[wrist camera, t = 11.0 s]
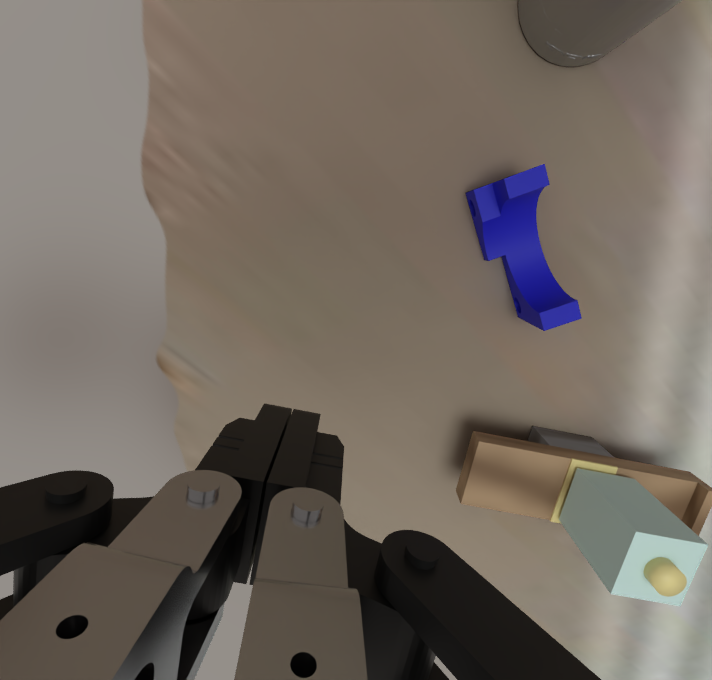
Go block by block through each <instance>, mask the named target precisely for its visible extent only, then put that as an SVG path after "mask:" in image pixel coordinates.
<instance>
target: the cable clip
mask: <svg viewBox="0 0 712 680" xmlns="http://www.w3.org/2000/svg"><path fill="white" fill-rule="evenodd" d="M547 185H549V180H548V176H547V172H546V168H545V164H543V165H540V166H537V167H535V168H532V169H529V170H527V171H524V172H521V173H518V174H516V175H513V176H510V177H507V178H505V179H502V180H499V181H497V182H494V183H491V184H488V185H486V186H483V187H480V188H477V189H475V190H472V191H469V192H467V193H466V197H467V200H468V204H469V208H470V211H471V215H472V218H473V222H474V225H475V229H476V232H477V236H478V239H479V243H480V246H481V250H482V253H483V257H484V260H487V261H490V260H492V259H495V258H498V257H502V260H503V264H504V268H505V271H506V275H507V279H508V282H509V286H510V290H511V293H512V297H513V300H514V304H515V308H516V311H517V315H518V317H519V318H521V319H523V320H525V321H526V322H528V323H530V324H532V325H534V326H536V327H538V328H539V329H541V330H543V331H545V330H548V329H551V328H554V327H557V326H560V325H563V324H566V323H569V322H572V321H575V320H578V319H581V314H580V310H579V305H578V301H577V300H575V299H573V298H571V297H570V296H569V295H568V294H566V293H565V292H564V291H563V289H562V288H561V287H560V286H559V284H558V283H557V282H556V280H555V278H554V277H553V275H552V273H551V271H550V269H549V267H548V265H547V263H546V260H545V258H544V255H543V252H542V249H541V245H540V241H539V237H538V231H537V223H536V207H537V201H538V197H539V195H540V193H541V191H542V189H543V188H544V187H546V186H547Z"/></svg>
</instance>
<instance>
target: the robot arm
mask: <svg viewBox="0 0 712 680" xmlns="http://www.w3.org/2000/svg"><path fill="white" fill-rule="evenodd" d="M681 1H682V0H519V3H518V11H519V20H520V24H521V27H522V30H523V34H524V36H525V37H526V39H527V41H528V43H529V44H530V46H531V47H532V48H533V49H534V50H535V51H536V53H537V54H538V55H540V56H541V57H543V58H544V59H546V60H547V61H549V62H551V63H554V64H557V65H560V66H569V67H574V66H582V65H586V64H589V63H591V62H594V61H597V60H598V59H600V58H601V57H603V56H605V55H606V54H608V53H609V52H611V51H612V50H613V49H615V48H616V47H618V46H619V45H620V44H622V43H623V42H625V41H626V40H627V39H629V38H630V37H632V36H633V35H635V34H636V33H638V32H639V31H640V30H642V29H643V28H645V27H646V26H647V25H649V24H650V23H651V22H653V21H654V20H656V19H657V18H658V17H660V16H661V15H663V14H664V13H665V12H667V11H668V10H670V9H671V8H672V7H674V6H675V5H677V4H678V3H679V2H681ZM291 412H292V409H291V408H285V407H280V406H275V405H269V404H264V405H263V407H262V408H261V410H260V412H259V414H258V416H257V418H256V419H255V420H249V419H244V418H238V419H237V420H235V421H233V422H231V423H229V424H227V425H226V426H225V427H224V428H223V430H222V431H221V433H220V434H219V437H217V439H216V440H215V442H214V443H213V446H211V447H210V449H209V450H208V452H207V453H206V455H205V456H204V458H203V459H202V461H201V462H200V464H199V465H198V466H197V468H196V469H195V471H189V472H185V473H182V474H179V475H177V476H175V477H174V478H172V479H170V480H169V481H168V482H167V483H166V484H165V486H164V487H163V488H162V489H161V490H160V491H159V492H158V493H157V494H156V495H155V496H154V497H147V498H123V499H122V498H120V499H113V491H114V487H113V484H112V482H111V481H110V480H109V479H108V478H106V477H104V476H103V475H101V474H98V473H94V472H89V471H64V472H58V473H54V474H49V475H46V476H42V477H38V478H34V479H31V480H27V481H23V482H20V483H16V484H12V485H8V486H5V487H1V488H0V576H1V575H3V574H6V573H8V572H11V571H13V570H14V591H13V594H12V595H10V596H8V597H5V598H3V599H1V600H0V680H194V679H195V676H196V674H197V672H198V670H199V667H200V665H201V663H202V661H203V658H204V656H205V654H206V652H207V650H208V647H209V645H210V643H211V641H212V638H213V636H214V634H215V632H216V630H217V627H218V625H219V623H220V621H221V618H222V615H223V609H224V603H225V601H226V599H227V598H228V596H229V593H230V590H231V587H232V584H233V582H237V583H243V584H246V583H247V579H248V577H249V574H250V570H251V567H252V564H253V567H252V573H251V580H250V585H253V588H252V593H251V598H250V604H249V608H248V614H247V618H246V623H245V629H244V634H243V639H242V644H241V649H240V654H239V659H238V664H237V669H236V674H235V679H234V680H449V679H448V678H447V676H446V675H445V674H444V673H443V672H442V671H441V670H440V668H439V667H438V666H437V665H436V664H435V663H434V659H435V656H437V657H438V658H439V659H440V660H441V662H442V663H443V664H444V665H445V666H446V667H447V668H448V670H449V671H450V672H451V673H452V674H453V675H454V676H455V677H456V679H457V680H601V679H600V678H599V677H598V676H596V675H595V674H594V673H593V672H592V671H591V670H589V669H588V668H587V667H586V666H585V665H584V664H583V663H581V662H580V661H579V660H578V659H577V658H576V657H574V656H573V655H572V654H571V653H570V652H569V651H568V650H566V649H565V648H564V647H563V646H562V645H561V644H559V643H558V642H557V641H556V640H555V639H554V638H553V637H551V636H550V635H549V634H548V633H547V632H546V631H544V630H543V629H542V628H541V627H540V626H539V625H538V624H536V623H535V622H534V621H533V620H532V619H531V618H529V617H528V616H527V615H526V614H525V613H524V612H523V611H521V610H520V609H519V608H518V607H517V606H516V605H514V604H513V603H512V602H511V601H510V600H509V599H508V598H506V597H505V596H504V595H503V594H502V593H501V592H499V591H498V590H497V589H496V588H495V587H494V586H493V585H491V584H490V583H489V582H488V581H487V580H486V579H484V578H483V577H482V576H481V575H480V574H479V573H478V572H476V571H475V570H474V569H473V568H472V567H471V566H469V565H468V564H467V563H466V562H465V561H464V560H463V559H461V558H460V557H459V556H458V555H457V554H456V553H454V552H453V551H452V550H451V549H450V548H449V547H448V546H446V545H445V544H444V543H443V542H441V541H440V540H438V539H436V538H435V537H432V536H430V535H428V534H425V533H422V532H419V531H413V530H400V531H396V532H393V533H391V534H389V535H388V536H387V537H386V538H385V539H384V540H383V543H382V544H381V543H379V542H377V541H374V540H372V539H370V538H367V537H365V536H363V535H361V534H360V533H358V532H357V531H355V530H354V529H353V528H352V527H350V526H349V525H348V523H347V522H346V521H345V520H344V514H343V510H342V507H341V506H340V500H341V485H342V468H343V455H344V446H343V444H342V443H341V441H340V440H339V438H338V437H337V436H335V435H330V434H325V433H319V432H317V430H318V425H319V420H320V414H318V413H312V412H307V411H302V410H296V409H294V410H293V412H292V415H291Z"/></svg>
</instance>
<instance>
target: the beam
mask: <svg viewBox="0 0 712 680" xmlns="http://www.w3.org/2000/svg"><path fill="white" fill-rule="evenodd" d="M577 468H580V469H585V470H590V471H596V472H601V473H606V474H612V475H617V476H622V477H628V478H633V479H635V480H636V481H637V482H639V483H640V484H641V485H642V486H643V487H644V488H645V489H646V490H648V491H649V492H650V493H651V494H652V495H653V496H654V497H655V498H656V499H658V500H659V501H660V502H661V503H662V504H663V505H664V506H665V507H667V508H668V509H669V510H670V511H671V512H672V513H673V514H674V515H675V516H677V517H678V518H679V519H680V520H681V521H682V522H683V523H684V524H686V525H687V526H688V527H689V528H690V529H691V530H692V531H693V532H694V533H696V534H697V535H698V536H699V533H700V531H701V529H702V527H703V525H704V522H705V520H706V518H707V516H708V513H709V511H710V509H711V507H712V488H711V487H710V486H708V485H707V484H706V483H704V482H703V481H701V480H700V479H699V478H697V477H696V476H695V475H693V474H692V473H690V472H688V471H682V470H677V469H672V468H667V467H661V466H656V465H651V464H645V463H640V462H635V461H630V460H624V459H619V458H615V457H613V456H612V455H611V454H610V453H609V452H608V451H607V450H606V449H604V448H603V447H602V446H601V445H600V444H599V443H598V442H596V441H595V440H594V439H593V438H592V437H588V436H582V435H577V434H572V433H567V432H561V431H556V430H551V429H546V428H540V427H535V426H532V429H531V432H530V435H529V438H528V441H524V440H519V439H513V438H508V437H503V436H498V435H492V434H487V433H482V432H476V431H473V433H472V436H471V440H470V443H469V447H468V450H467V454H466V457H465V461H464V464H463V468H462V471H461V475H460V478H459V482H458V485H457V488H456V492H457V495H458V497H459V500H460V503H461V504H465V505H471V506H476V507H482V508H487V509H493V510H498V511H504V512H509V513H515V514H520V515H526V516H531V517H537V518H542V519H548V520H550V522H556V523H561V522H560V521H559V517H560V515H561V512H562V509H563V506H564V503H565V501H566V498H567V495H568V492H569V489H570V487H571V484H572V481H573V478H574V475H575V473H576V470H577ZM561 524H562V523H561Z"/></svg>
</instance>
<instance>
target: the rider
mask: <svg viewBox="0 0 712 680" xmlns="http://www.w3.org/2000/svg"><path fill="white" fill-rule="evenodd" d="M559 521H560V522H561V523H562V525H563V526H564V528H565V529H566V531H567V532H568V533H569V535H570V536H571V538H572V539H573V541H574V542H575V544H576V545H577V546H578V548H579V549H580V551H581V552H582V554H583V555H584V556H585V558H586V559H587V561H588V562H589V564H590V565H591V566H592V568H593V569H594V571H595V572H596V574H597V575H598V577H599V578H600V579H601V581H602V582H603V584H604V585H605V587H606V588H607V589H608V591H609V592H610V594H614V595H619V596H625V597H631V598H636V599H642V600H648V601H654V602H659V603H665V604H671V605H676V606H681V603H682V601H683V599H684V597H685V595H686V593H687V590H688V588H689V586H690V584H691V582H692V579H693V577H694V575H695V573H696V571H697V568H698V566H699V564H700V562H701V560H702V557H703V555H704V553H705V551H706V549H707V547H708V544H707V543H706V542H705V541H703V540H702V539H701V538H700V537H699V536H698V535H697V534H696V533H694V532H693V531H692V530H691V529H690V528H689V527H688V526H687V525H686V524H684V523H683V522H682V521H681V520H680V519H679V518H678V517H677V516H675V515H674V514H673V513H672V512H671V511H670V510H669V509H668V508H667V507H665V506H664V505H663V504H662V503H661V502H660V501H659V500H658V499H656V498H655V497H654V496H653V495H652V494H651V493H650V492H649V491H648V490H646V489H645V488H644V487H643V486H642V485H641V484H640V483H639V482H637V481H636V480H635V479H633V478H628V477H622V476H617V475H612V474H606V473H601V472H596V471H590V470H585V469H580V468H577V470H576V473H575V475H574V478H573V481H572V484H571V487H570V489H569V492H568V495H567V498H566V501H565V503H564V506H563V509H562V512H561V515H560V517H559Z"/></svg>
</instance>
